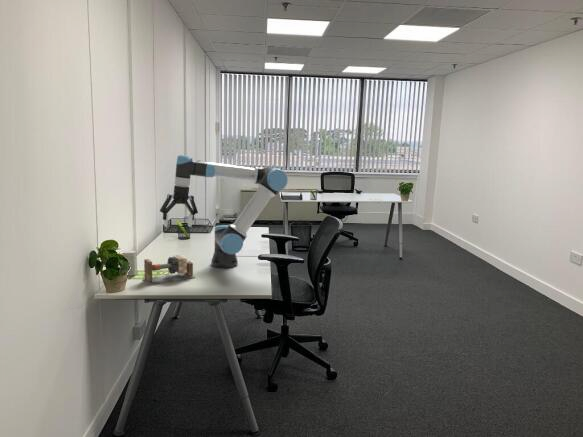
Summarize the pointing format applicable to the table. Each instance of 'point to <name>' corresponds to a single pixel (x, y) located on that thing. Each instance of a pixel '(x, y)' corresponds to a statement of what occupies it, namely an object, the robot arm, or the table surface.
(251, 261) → the table surface
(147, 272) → the pipe stand
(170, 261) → the o-ring
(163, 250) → the table surface
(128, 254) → the skincare box
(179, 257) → the sleeve
